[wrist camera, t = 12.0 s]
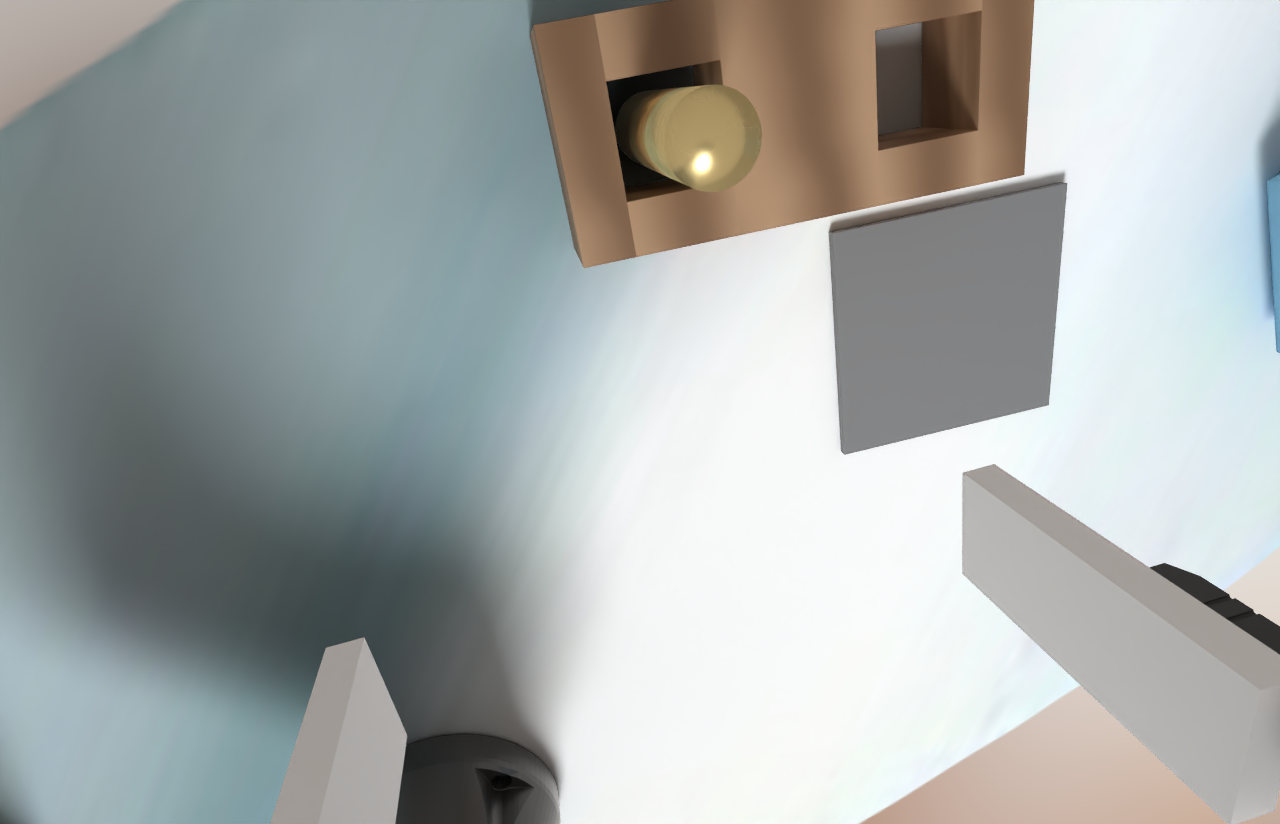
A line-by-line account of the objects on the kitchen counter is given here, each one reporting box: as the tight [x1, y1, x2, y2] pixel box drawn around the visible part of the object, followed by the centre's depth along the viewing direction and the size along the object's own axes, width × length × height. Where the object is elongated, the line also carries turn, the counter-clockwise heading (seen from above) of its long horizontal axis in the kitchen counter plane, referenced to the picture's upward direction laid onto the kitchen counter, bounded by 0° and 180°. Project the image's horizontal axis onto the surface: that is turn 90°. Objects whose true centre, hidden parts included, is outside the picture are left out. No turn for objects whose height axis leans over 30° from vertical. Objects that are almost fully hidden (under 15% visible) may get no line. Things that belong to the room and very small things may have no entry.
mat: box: [829, 183, 1067, 455], centre depth 43 cm, size 14×14×1 cm
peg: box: [615, 85, 762, 192], centre depth 30 cm, size 4×4×12 cm
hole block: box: [530, 0, 1034, 268], centre depth 34 cm, size 22×10×5 cm, turn 100°
